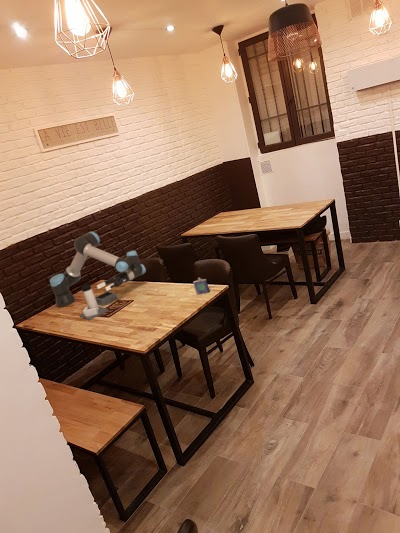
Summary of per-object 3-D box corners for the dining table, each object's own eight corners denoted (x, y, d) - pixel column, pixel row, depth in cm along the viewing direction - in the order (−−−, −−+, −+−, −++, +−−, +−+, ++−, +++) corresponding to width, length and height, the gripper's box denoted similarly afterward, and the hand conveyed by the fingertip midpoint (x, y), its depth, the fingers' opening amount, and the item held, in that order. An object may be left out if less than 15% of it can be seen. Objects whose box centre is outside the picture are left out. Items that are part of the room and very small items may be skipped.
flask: (196, 294, 265) (191, 279, 262) (197, 293, 268) (192, 278, 265) (209, 292, 263) (205, 277, 260) (210, 291, 265) (206, 275, 262)
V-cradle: (79, 316, 286) (77, 310, 284) (98, 307, 294) (95, 301, 293) (89, 320, 273) (86, 313, 272) (108, 310, 282) (106, 303, 281)
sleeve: (95, 304, 304) (93, 298, 302) (109, 297, 311) (107, 291, 309) (103, 306, 294) (100, 300, 293) (117, 298, 301) (115, 292, 300)
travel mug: (100, 308, 287) (91, 282, 282) (97, 312, 281) (87, 286, 275) (92, 310, 288) (83, 284, 283) (89, 314, 282) (79, 288, 276)
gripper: (136, 282, 290) (111, 295, 278) (120, 279, 310) (95, 291, 298) (133, 272, 288) (108, 285, 276) (116, 270, 307) (92, 281, 295)
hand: (101, 288), depth 287 cm, fingers open, 13 cm apart
